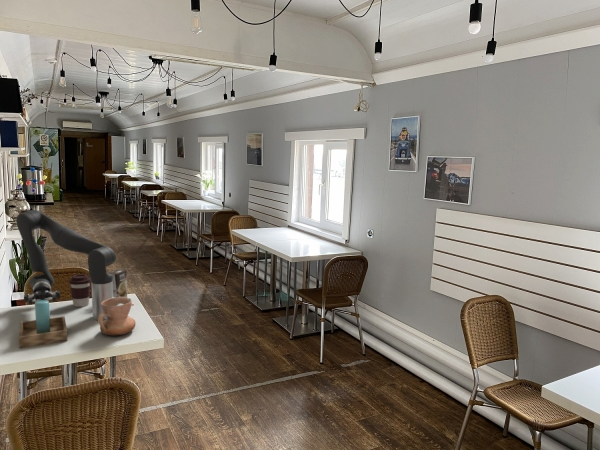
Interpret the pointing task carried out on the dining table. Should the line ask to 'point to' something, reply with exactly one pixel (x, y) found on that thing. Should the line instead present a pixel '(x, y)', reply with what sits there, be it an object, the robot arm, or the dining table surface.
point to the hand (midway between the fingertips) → (42, 300)
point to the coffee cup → (80, 289)
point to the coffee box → (119, 283)
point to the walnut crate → (32, 339)
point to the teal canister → (42, 316)
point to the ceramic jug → (116, 316)
